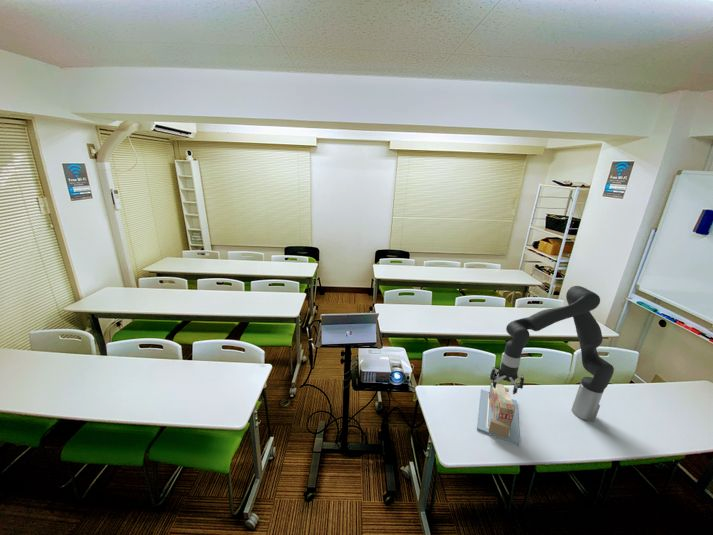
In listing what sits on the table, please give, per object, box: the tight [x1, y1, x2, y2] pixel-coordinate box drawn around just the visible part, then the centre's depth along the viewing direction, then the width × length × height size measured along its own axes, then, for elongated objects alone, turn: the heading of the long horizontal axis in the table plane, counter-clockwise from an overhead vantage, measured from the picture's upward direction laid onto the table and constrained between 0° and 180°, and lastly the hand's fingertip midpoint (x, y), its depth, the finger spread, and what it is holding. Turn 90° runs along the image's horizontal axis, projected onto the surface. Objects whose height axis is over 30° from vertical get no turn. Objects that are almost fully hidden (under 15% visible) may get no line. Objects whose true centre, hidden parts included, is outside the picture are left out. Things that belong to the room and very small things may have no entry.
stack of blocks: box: [489, 382, 515, 427], centre depth 145 cm, size 21×6×12 cm, turn 165°
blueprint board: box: [476, 386, 521, 447], centre depth 146 cm, size 18×30×7 cm, turn 154°
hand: (504, 390), depth 142 cm, fingers open, 8 cm apart
